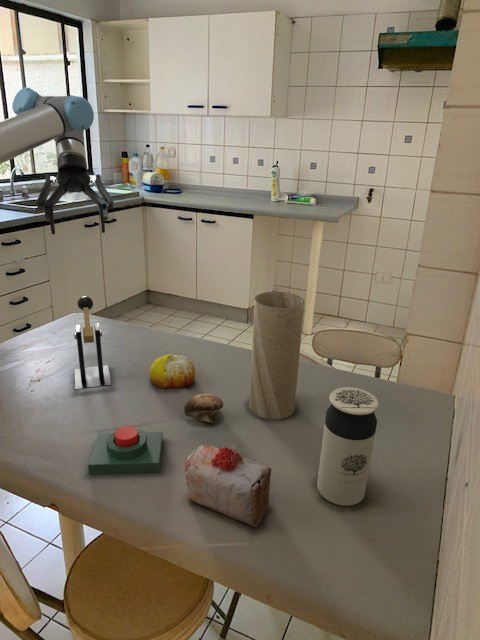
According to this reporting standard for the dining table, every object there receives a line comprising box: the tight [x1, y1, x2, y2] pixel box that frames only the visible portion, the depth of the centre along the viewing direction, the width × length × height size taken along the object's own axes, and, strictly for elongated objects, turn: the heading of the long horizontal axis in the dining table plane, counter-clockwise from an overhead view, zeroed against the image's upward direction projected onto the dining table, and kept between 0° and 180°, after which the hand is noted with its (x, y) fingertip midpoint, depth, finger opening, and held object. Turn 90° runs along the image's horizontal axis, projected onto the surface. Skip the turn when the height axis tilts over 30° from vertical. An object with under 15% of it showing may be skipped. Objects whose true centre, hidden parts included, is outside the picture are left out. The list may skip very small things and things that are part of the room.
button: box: [115, 425, 138, 447], centre depth 83 cm, size 4×4×2 cm
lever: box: [77, 295, 95, 344], centre depth 108 cm, size 13×4×4 cm, turn 19°
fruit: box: [149, 353, 196, 390], centre depth 109 cm, size 11×10×8 cm
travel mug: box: [316, 386, 380, 507], centre depth 75 cm, size 8×8×18 cm
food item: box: [184, 444, 272, 529], centre depth 74 cm, size 14×8×10 cm, turn 63°
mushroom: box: [183, 393, 224, 424], centre depth 96 cm, size 8×8×6 cm
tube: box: [248, 291, 305, 420], centre depth 97 cm, size 10×10×25 cm
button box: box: [87, 427, 164, 476], centre depth 84 cm, size 12×9×4 cm
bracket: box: [73, 322, 112, 391], centre depth 107 cm, size 10×8×14 cm
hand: (78, 230), depth 117 cm, fingers open, 11 cm apart
